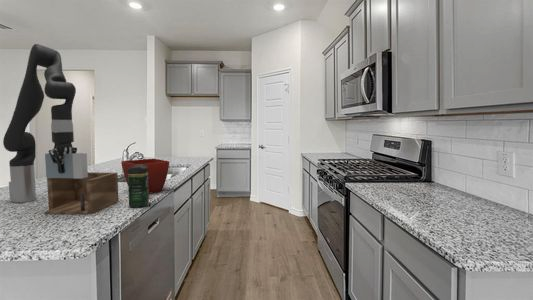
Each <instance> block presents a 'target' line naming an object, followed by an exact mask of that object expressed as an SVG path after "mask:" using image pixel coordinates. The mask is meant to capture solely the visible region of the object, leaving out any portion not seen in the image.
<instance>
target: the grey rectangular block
mask: <svg viewBox="0 0 533 300" xmlns="http://www.w3.org/2000/svg"><path fill="white" fill-rule="evenodd" d="M59 157H62V156H59ZM55 159H56V158H55ZM56 160H57V159H56ZM60 160H61V158H60ZM44 162H45V177H46V179H47V178H80V179H82V178H86V177H88V153H84V152H76V153H67V154H65V159H64V168H65V173H59V172H58V164H56V163H53V161H52V159H51V156H50V154H49V152H48V153H47V152H46V153H44Z"/></svg>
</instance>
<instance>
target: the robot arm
mask: <svg viewBox="0 0 533 300" xmlns="http://www.w3.org/2000/svg"><path fill="white" fill-rule="evenodd" d="M38 66H39V67H42V68H45V70H44V72H43V73H44V74H43V75H44V76H43V77H44V79H45V81H46V82H45V84H44V90H43V88H42V84H40V81H39V77H38V71H37V69H38ZM76 92H77V91H76V86H75V85H74V84H73V83H72V82H70V81H69V82H68V81H67V79H66V77H65V75H64V72H63V64H62V56H61V54H60V52H59V51H57V50H55V49H53V48H50V47H47V46H44V45H42V44H39V43H35V44H33V45H32V47H31V48H30V52H29V56H28V61H27V65H26V70H25V75H24V78H23V81H22V84H21V87H20V91H19V93H18V96H17V101H16V105H15V108H14V111H13V113H12V118H11V120H10V122H9V124H8V127H7V129H6V132H5V134H4V137H3V139H2V144H3V147H4V149H5V150H6V151H7V152H11V153H12V152H13V153H15V152H16V155H15V156H14V157H12V158H10V160H9V161H8V162H9V177H10V181H8V191H9V202H12V203H16V204H17V203H28V202H33V201H35V200H37V192H36V190H37V189H36V188H37V187H36V175H35V174H36V171H35V160H36V158H37V157H36V149H37V148H36V147H37V146H36V144H37V143H36V139H35V137H34V135H33V134H32V133H30V131H29V132H28V131H26V129H27V127H28V125H29V123H30V122H32V121H33V119H34V118H35V117H36V116H37V115H38V113H39V112H40V111H41V109H42V107H43V102H44V99H45V97H48V99H53V100H65V101H64V102H63V103H62V104H56V105H52V106H51V107H50V114H51V118H50V119H51V124H50V130H51V142H52V143H53V144H54V146H53V148H52V149H49V150H48V153H49V154H50V156H51V159H52V161H53V163H56V164H58V172H59V173H65V168H64V159H65V154H67V153H78V152H77V151H78V147H73V144H72V143H74V141H75V139H74V138H75V136H74V124H73V104H74V99H75V96H76ZM59 156H62V157H59ZM55 158H56V159H57V160H56V159H55ZM60 158H61V160H60Z"/></svg>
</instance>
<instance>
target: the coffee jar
mask: <svg viewBox="0 0 533 300" xmlns="http://www.w3.org/2000/svg"><path fill="white" fill-rule="evenodd" d="M128 181H129V187H128V207H130V208H135V209H136V208H142V207H146V206H147V205H148V204H149V203H150V200H149V198H150V196H149V197H148V167H147V166H145V165H135V166H133V167H131V168H129V169H128Z"/></svg>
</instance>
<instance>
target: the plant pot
mask: <svg viewBox="0 0 533 300" xmlns="http://www.w3.org/2000/svg"><path fill="white" fill-rule="evenodd" d="M135 165H145V166H147V167H148V181H149V194H153V193H158V192H160V193H161V192H162V191H163V190H164V186H165V183H166V181H167V177H168V173H169V168H170V161H169V160H164V159H160V158H159V159H158V158H144V159H133V160H121V167H122V172H123V175H124V179H125V181H126V184H127V187H128V188H129V181H128V169H129V168H131V167H133V166H135Z"/></svg>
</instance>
